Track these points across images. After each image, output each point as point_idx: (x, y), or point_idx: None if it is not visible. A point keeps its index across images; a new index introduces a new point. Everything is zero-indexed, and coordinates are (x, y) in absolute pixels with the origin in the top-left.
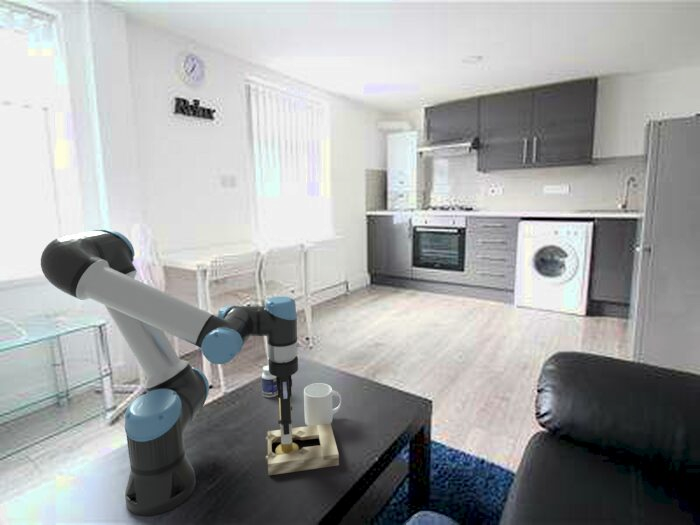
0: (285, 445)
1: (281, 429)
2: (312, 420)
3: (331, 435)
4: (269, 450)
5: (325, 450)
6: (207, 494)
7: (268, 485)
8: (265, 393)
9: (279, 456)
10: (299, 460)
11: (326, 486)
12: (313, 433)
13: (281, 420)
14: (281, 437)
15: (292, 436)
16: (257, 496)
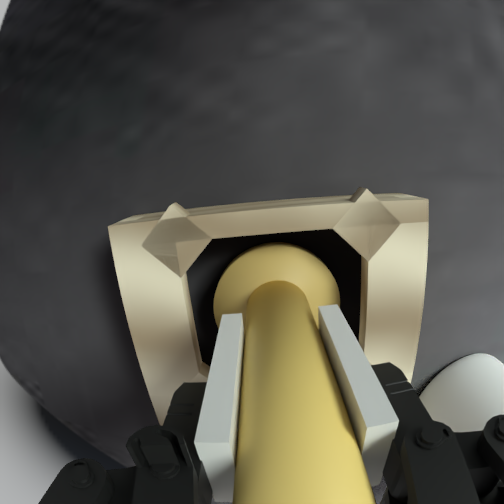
0: (246, 325)
1: (208, 388)
2: (440, 410)
3: None
4: (228, 223)
5: None
6: (75, 3)
7: (80, 222)
8: None
9: (166, 287)
10: (145, 376)
11: (96, 411)
12: None
13: (40, 502)
14: (216, 343)
15: (361, 339)
16: (35, 187)
